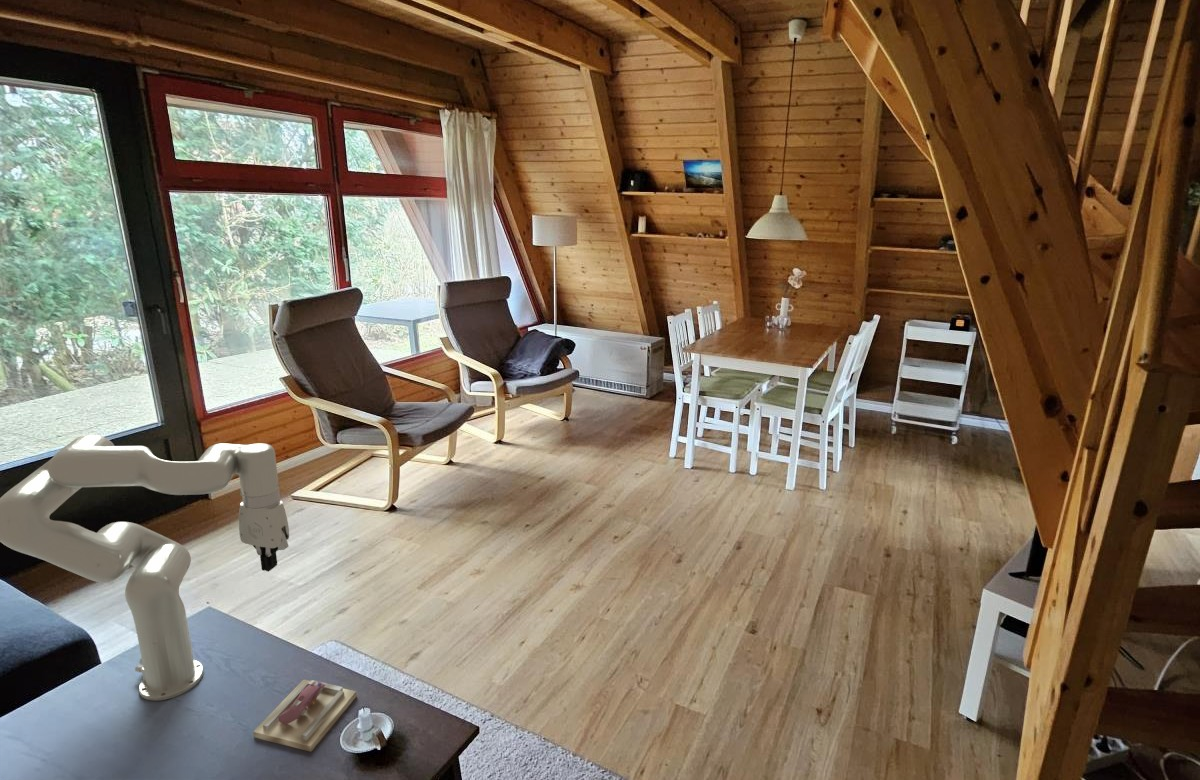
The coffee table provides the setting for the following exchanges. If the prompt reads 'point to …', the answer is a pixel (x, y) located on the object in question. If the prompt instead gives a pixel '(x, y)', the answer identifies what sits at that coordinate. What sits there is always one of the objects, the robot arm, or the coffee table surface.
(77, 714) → the coffee table surface
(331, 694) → the dock
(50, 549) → the robot arm
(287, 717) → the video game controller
